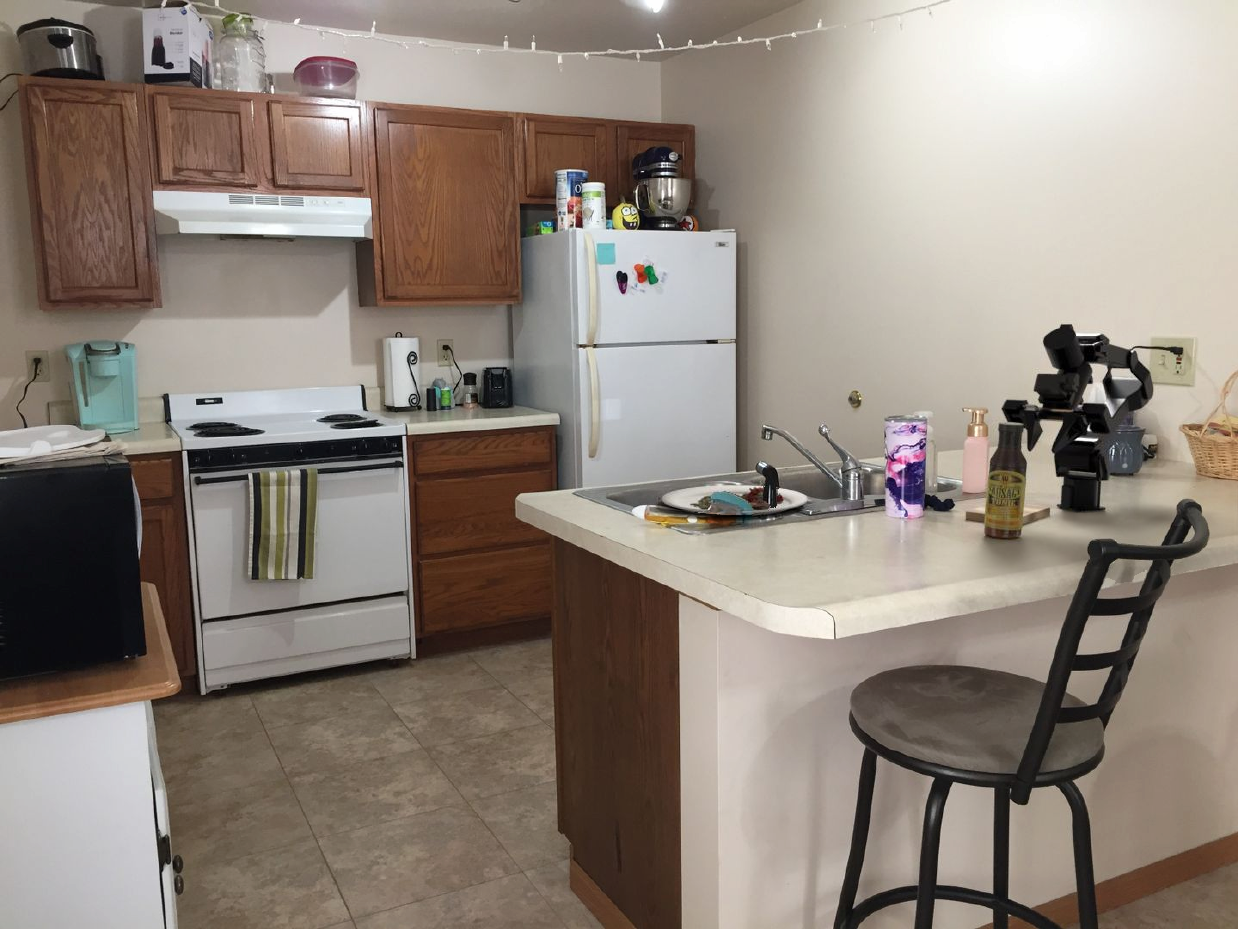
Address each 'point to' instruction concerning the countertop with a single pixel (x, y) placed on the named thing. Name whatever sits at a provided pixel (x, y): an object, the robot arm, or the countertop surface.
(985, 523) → the sauce bottle
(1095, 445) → the robot arm
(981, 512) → the oak cutting board
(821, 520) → the countertop surface
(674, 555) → the countertop surface
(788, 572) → the countertop surface
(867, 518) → the countertop surface
